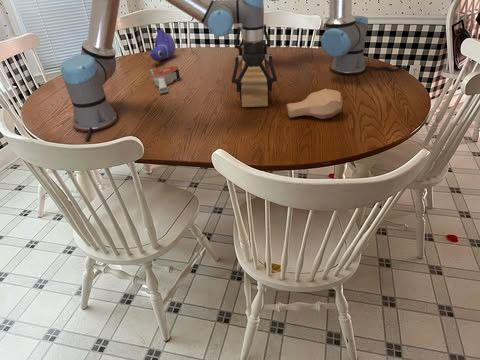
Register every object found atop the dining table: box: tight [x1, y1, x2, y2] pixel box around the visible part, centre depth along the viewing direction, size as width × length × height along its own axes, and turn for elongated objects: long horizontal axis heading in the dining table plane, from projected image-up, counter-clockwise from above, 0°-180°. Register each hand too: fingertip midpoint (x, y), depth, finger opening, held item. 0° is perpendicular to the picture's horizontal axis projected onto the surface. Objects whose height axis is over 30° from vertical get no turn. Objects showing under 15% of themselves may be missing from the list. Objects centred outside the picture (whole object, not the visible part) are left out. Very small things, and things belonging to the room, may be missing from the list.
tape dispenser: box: [149, 65, 181, 94], centre depth 160 cm, size 18×5×20 cm
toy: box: [148, 28, 176, 66], centre depth 186 cm, size 10×17×25 cm
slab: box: [241, 59, 269, 108], centre depth 157 cm, size 58×10×7 cm, turn 179°
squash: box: [285, 88, 344, 120], centre depth 126 cm, size 11×20×9 cm, turn 92°
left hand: (254, 98), depth 140 cm, fingers closed on slab, 10 cm apart
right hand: (253, 61), depth 177 cm, fingers closed on slab, 10 cm apart
